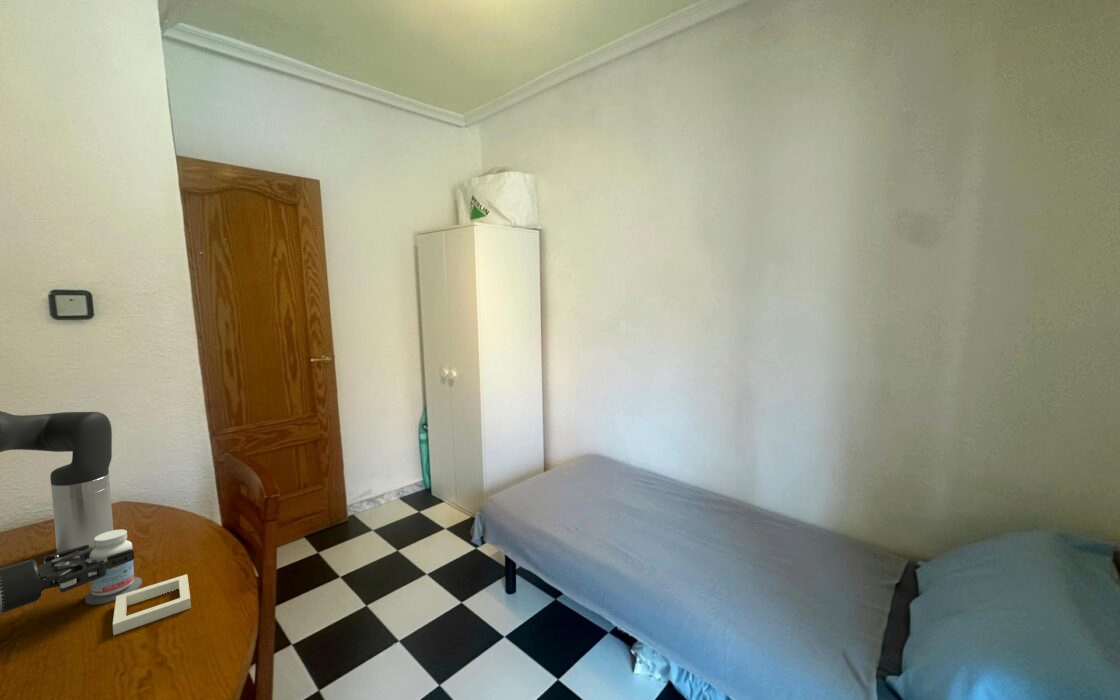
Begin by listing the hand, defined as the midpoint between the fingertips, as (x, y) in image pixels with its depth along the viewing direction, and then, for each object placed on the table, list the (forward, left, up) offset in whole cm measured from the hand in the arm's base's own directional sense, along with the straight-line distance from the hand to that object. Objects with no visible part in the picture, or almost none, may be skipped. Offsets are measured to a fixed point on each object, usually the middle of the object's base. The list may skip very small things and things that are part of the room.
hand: (127, 549), depth 88 cm
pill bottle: (+1, -2, -7) cm, 8 cm away
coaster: (+1, -2, -8) cm, 8 cm away
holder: (+12, +4, -8) cm, 15 cm away
